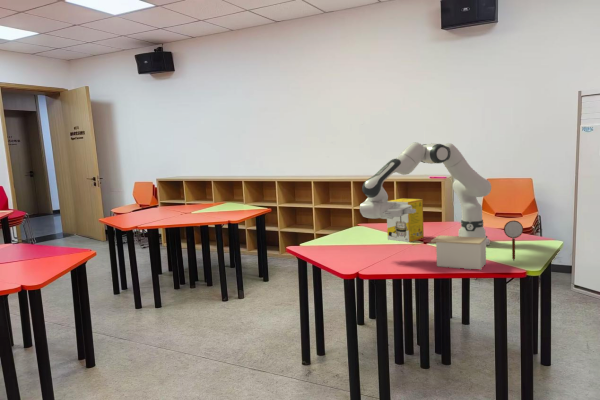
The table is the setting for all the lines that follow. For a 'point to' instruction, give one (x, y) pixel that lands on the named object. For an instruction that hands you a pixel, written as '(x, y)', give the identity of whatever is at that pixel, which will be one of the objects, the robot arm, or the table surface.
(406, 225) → the packaging box
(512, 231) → the magnifying glass
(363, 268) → the table surface
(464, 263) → the carton
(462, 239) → the lid flap
